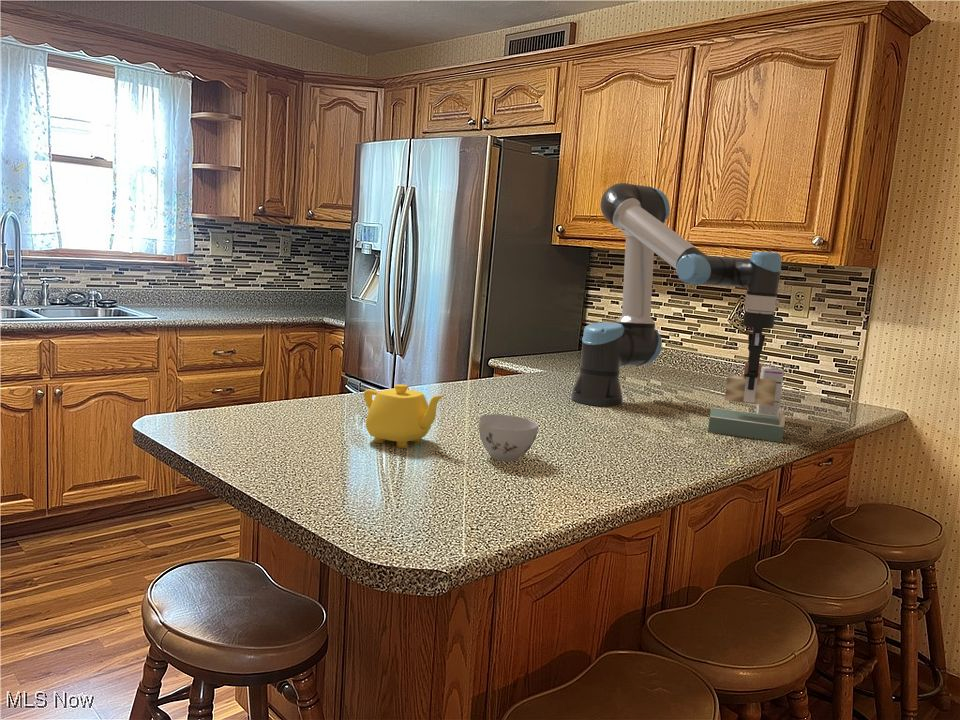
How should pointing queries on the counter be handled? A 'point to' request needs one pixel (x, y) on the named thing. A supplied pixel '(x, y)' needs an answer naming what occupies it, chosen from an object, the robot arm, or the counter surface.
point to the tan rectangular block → (763, 390)
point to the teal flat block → (747, 424)
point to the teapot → (399, 415)
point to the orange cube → (747, 370)
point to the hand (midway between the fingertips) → (748, 399)
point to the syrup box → (777, 375)
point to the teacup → (507, 435)
